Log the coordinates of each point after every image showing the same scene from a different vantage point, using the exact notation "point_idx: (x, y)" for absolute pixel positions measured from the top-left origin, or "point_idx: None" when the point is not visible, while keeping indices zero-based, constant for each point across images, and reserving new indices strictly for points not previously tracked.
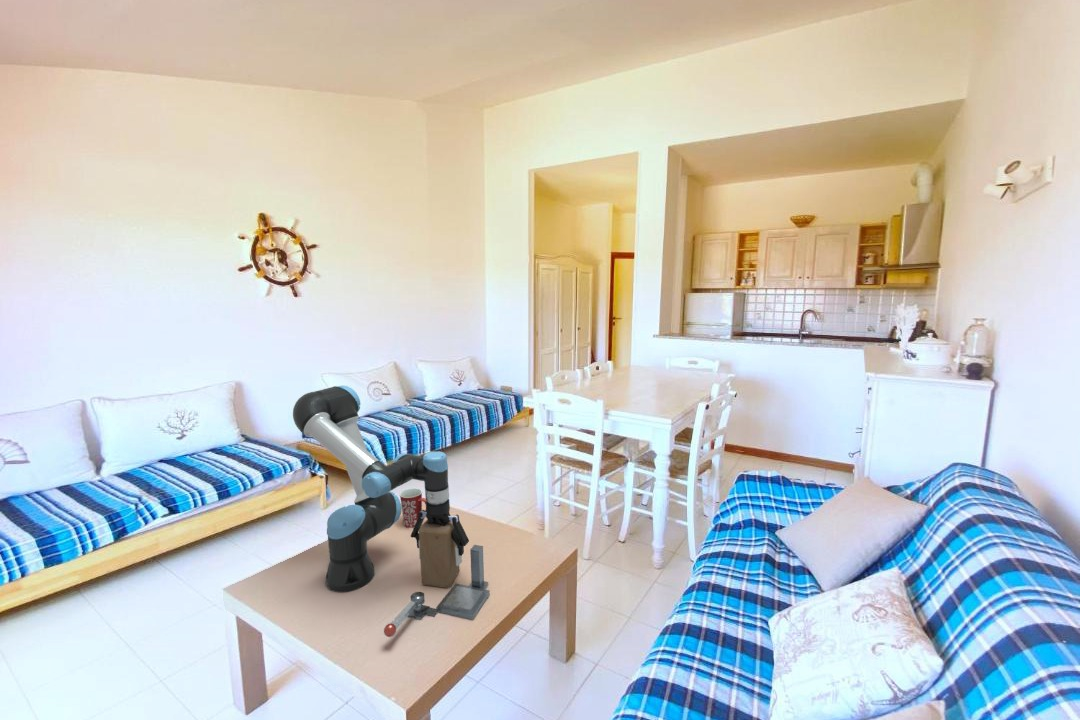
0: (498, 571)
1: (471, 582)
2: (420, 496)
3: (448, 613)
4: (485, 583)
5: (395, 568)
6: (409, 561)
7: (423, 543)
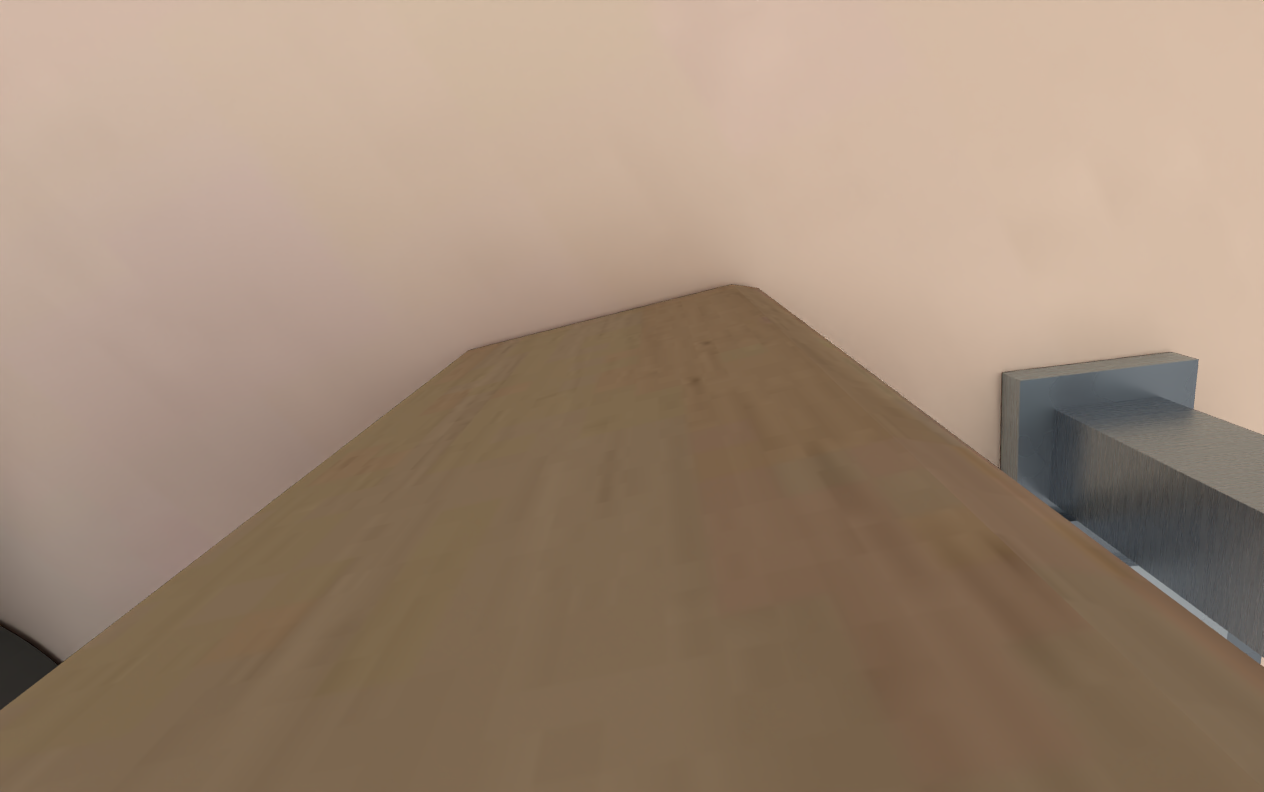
0: (1207, 73)
1: (1082, 523)
2: None
3: None
4: (1175, 393)
5: (124, 513)
6: (135, 362)
7: None
